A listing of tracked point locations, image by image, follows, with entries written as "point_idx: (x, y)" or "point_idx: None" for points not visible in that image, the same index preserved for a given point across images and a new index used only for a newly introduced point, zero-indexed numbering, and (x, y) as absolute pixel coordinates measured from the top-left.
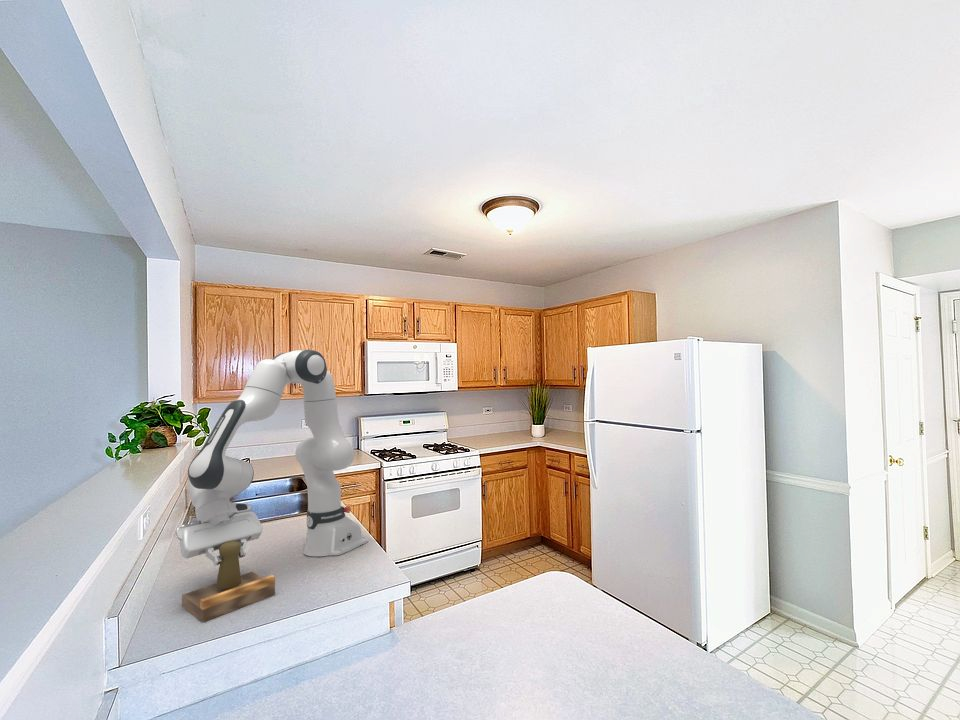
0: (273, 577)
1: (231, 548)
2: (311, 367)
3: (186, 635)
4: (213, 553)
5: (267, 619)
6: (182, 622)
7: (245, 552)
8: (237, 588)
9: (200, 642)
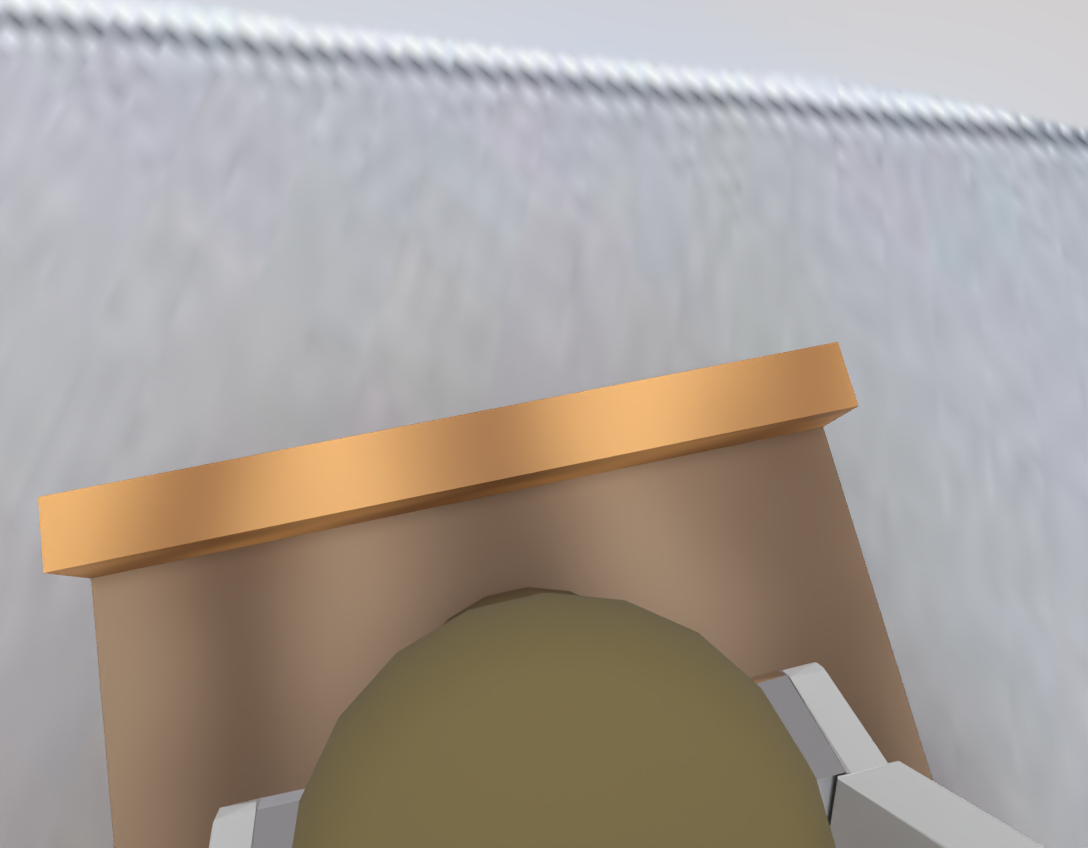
0: (63, 494)
1: (578, 601)
2: None
3: (871, 273)
4: (941, 831)
5: (356, 112)
6: (901, 521)
7: (227, 814)
8: (495, 429)
9: (792, 112)
